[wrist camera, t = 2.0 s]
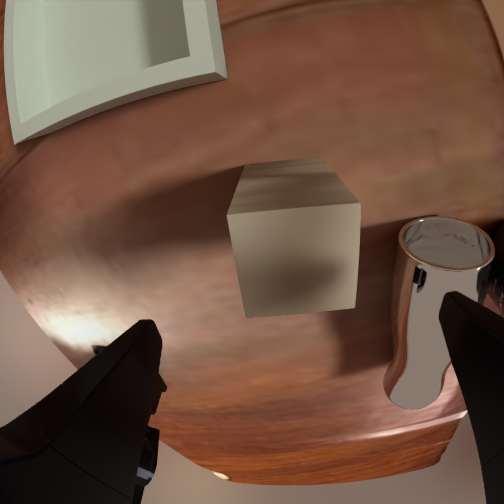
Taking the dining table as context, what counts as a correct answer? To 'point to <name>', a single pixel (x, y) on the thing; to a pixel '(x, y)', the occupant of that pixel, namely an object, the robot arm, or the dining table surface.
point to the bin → (102, 56)
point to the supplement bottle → (497, 268)
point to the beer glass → (431, 301)
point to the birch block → (294, 238)
